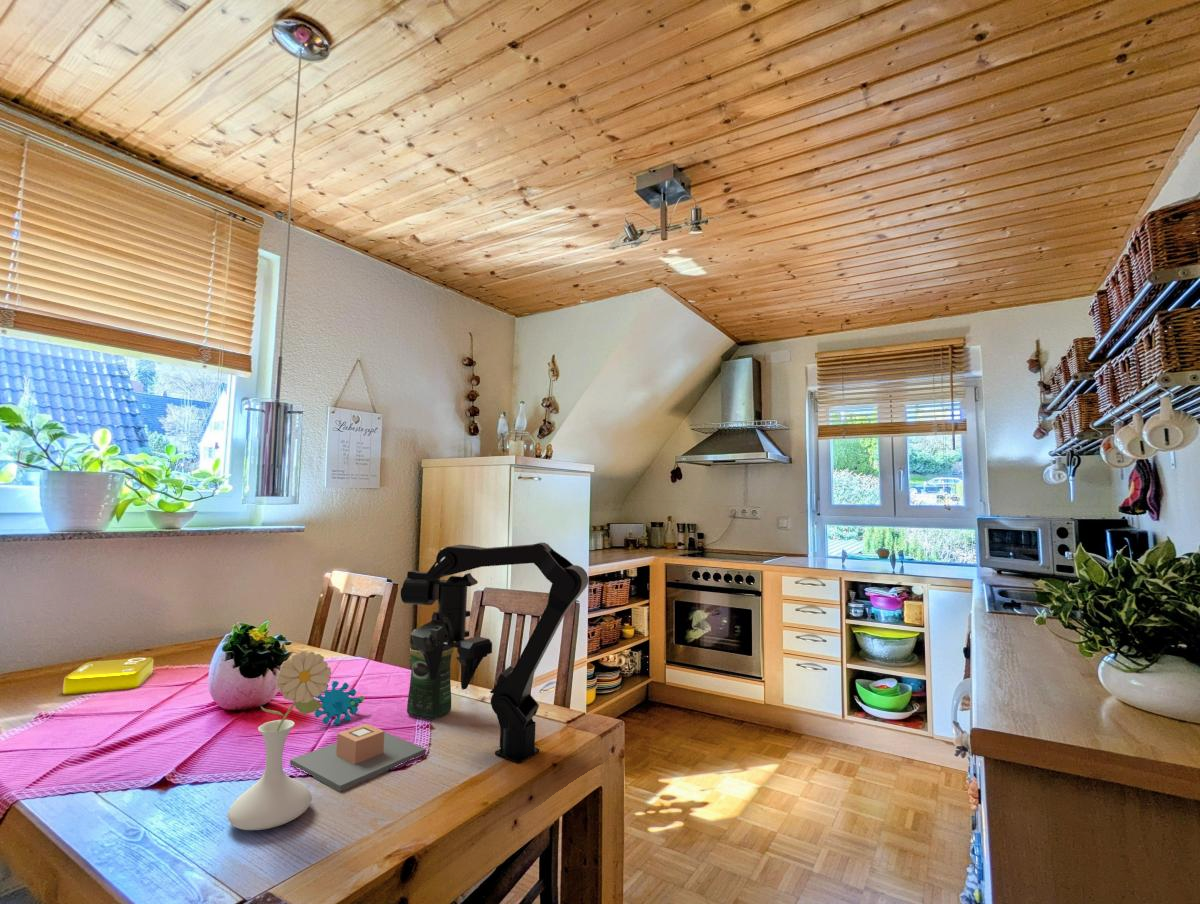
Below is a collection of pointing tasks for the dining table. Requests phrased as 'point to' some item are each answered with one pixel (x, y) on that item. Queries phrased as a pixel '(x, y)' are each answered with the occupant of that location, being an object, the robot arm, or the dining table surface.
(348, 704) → the teal virus model
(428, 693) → the coffee jar
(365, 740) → the collar
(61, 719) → the dining table surface
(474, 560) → the robot arm
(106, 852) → the dining table surface
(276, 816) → the flower in vase
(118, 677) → the element tile
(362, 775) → the post plate
